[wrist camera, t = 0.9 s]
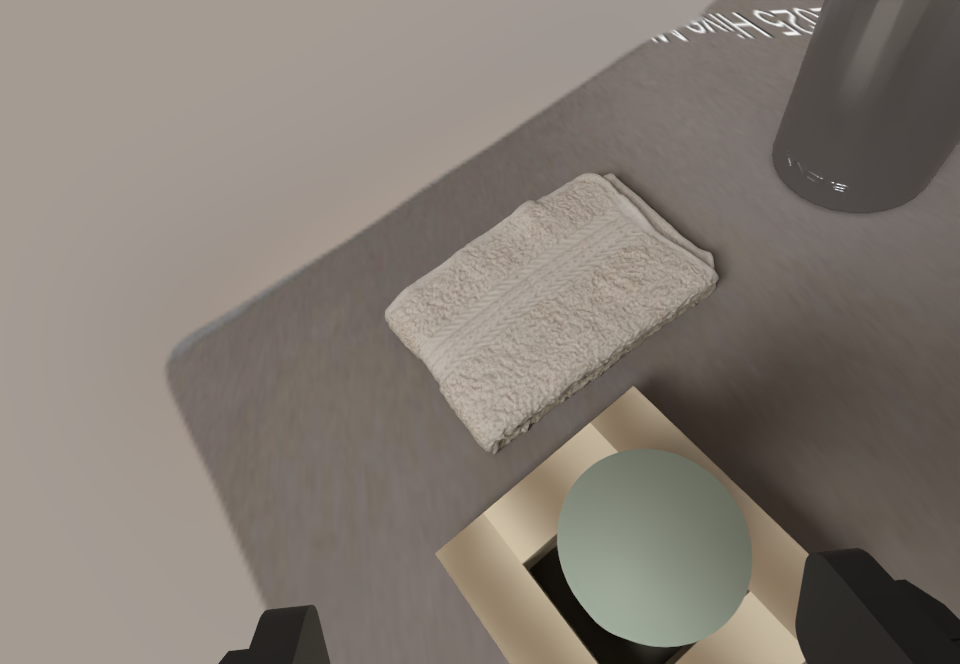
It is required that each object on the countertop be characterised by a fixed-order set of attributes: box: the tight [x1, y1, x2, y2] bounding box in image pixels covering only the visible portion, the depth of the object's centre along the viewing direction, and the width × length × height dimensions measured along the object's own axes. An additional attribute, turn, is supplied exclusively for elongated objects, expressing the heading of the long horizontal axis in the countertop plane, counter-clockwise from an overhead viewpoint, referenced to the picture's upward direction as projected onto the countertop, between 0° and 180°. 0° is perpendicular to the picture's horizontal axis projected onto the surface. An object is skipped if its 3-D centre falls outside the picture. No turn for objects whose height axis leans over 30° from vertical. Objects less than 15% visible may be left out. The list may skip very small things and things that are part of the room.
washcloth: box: [385, 173, 719, 455], centre depth 36 cm, size 12×18×3 cm, turn 126°
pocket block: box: [435, 386, 809, 664], centre depth 27 cm, size 13×13×3 cm
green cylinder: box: [557, 449, 752, 647], centre depth 22 cm, size 5×5×15 cm
